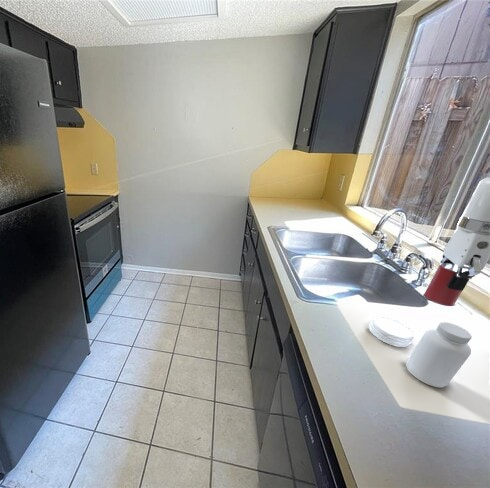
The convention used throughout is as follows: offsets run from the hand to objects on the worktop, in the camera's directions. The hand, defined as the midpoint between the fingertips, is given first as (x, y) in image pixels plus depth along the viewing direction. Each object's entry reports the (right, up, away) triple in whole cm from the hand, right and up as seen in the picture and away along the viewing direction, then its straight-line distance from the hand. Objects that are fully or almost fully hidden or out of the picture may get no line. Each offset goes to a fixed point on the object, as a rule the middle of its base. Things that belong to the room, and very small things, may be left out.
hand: (448, 282), depth 75 cm
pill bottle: (-16, -22, -10) cm, 29 cm away
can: (0, -6, +2) cm, 6 cm away
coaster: (-15, -17, +3) cm, 23 cm away
